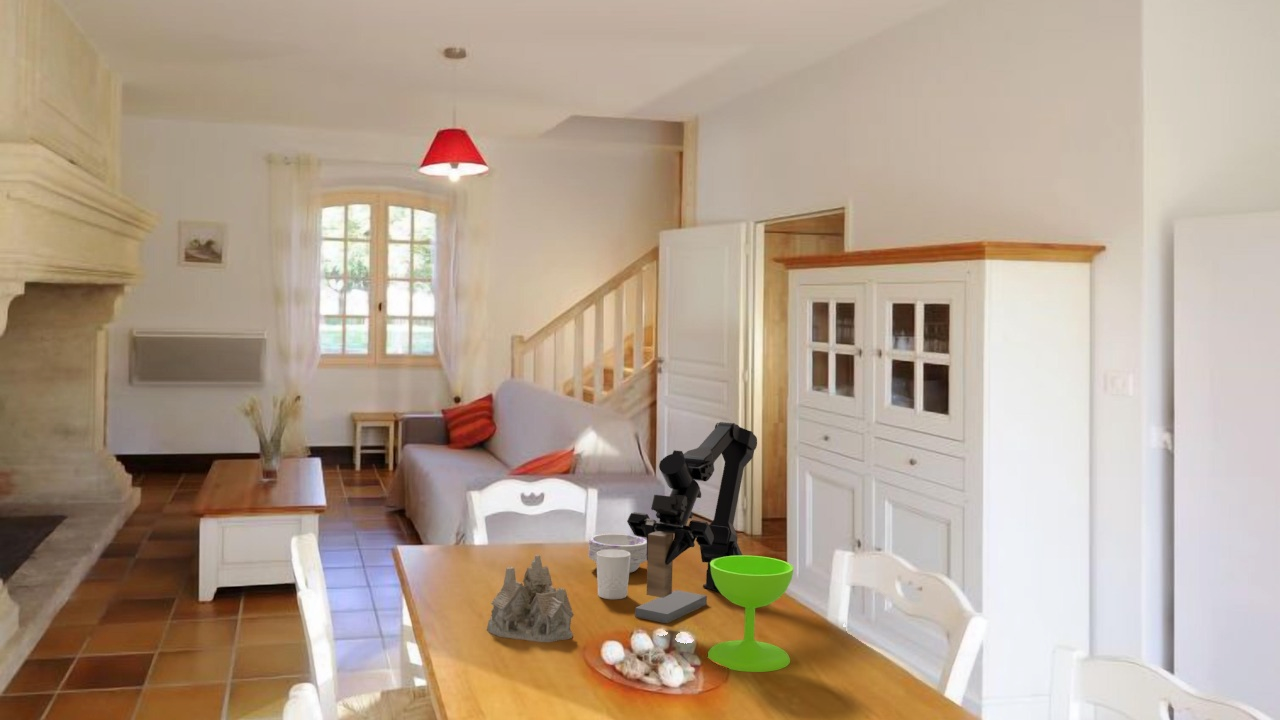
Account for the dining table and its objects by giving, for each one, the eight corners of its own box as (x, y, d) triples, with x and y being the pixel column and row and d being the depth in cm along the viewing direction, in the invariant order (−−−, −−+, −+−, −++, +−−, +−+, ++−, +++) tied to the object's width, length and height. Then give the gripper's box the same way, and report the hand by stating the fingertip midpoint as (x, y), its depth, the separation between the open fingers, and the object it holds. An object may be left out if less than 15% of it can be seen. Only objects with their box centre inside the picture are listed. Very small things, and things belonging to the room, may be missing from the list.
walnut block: (655, 590, 221) (656, 530, 220) (671, 593, 219) (673, 533, 218) (646, 594, 217) (648, 534, 216) (663, 597, 215) (665, 536, 215)
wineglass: (695, 663, 193) (698, 569, 192) (721, 639, 208) (724, 552, 207) (778, 677, 187) (781, 579, 186) (798, 651, 202) (802, 561, 201)
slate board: (676, 598, 237) (676, 590, 237) (706, 604, 233) (706, 595, 233) (635, 616, 222) (635, 607, 222) (667, 623, 218) (667, 614, 218)
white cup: (625, 601, 233) (626, 558, 233) (591, 598, 235) (593, 555, 235) (632, 592, 241) (633, 550, 241) (600, 590, 243) (601, 548, 242)
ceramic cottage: (481, 623, 214) (486, 553, 212) (555, 619, 220) (561, 551, 219) (501, 651, 199) (507, 576, 198) (580, 646, 206) (587, 573, 205)
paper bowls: (658, 568, 265) (659, 538, 265) (626, 580, 252) (627, 548, 252) (609, 559, 273) (610, 530, 273) (576, 570, 261) (577, 539, 260)
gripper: (632, 475, 225) (605, 534, 215) (709, 484, 216) (686, 546, 207) (647, 505, 232) (623, 564, 223) (723, 515, 223) (701, 576, 214)
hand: (657, 562), depth 216 cm, fingers closed on walnut block, 4 cm apart
